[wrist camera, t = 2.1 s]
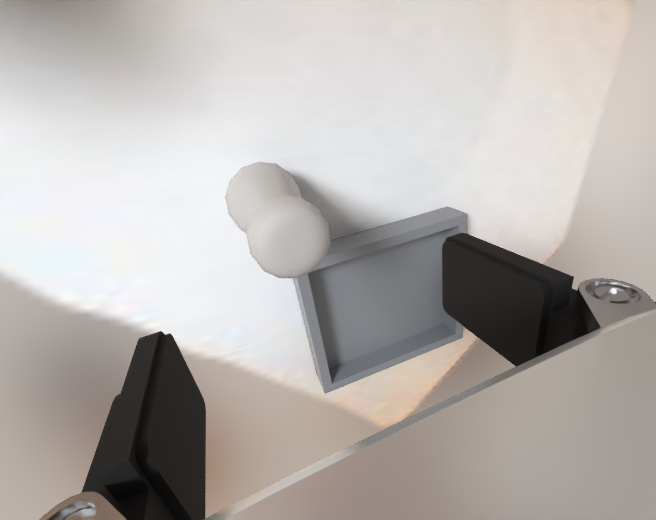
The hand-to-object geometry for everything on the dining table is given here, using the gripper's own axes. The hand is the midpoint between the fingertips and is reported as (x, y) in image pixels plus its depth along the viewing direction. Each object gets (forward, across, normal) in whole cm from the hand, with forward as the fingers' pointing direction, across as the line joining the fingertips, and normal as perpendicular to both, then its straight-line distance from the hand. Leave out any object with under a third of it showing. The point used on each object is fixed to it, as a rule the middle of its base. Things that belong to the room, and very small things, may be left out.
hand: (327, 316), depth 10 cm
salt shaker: (+19, -1, 0) cm, 19 cm away
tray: (+19, -11, +14) cm, 25 cm away
